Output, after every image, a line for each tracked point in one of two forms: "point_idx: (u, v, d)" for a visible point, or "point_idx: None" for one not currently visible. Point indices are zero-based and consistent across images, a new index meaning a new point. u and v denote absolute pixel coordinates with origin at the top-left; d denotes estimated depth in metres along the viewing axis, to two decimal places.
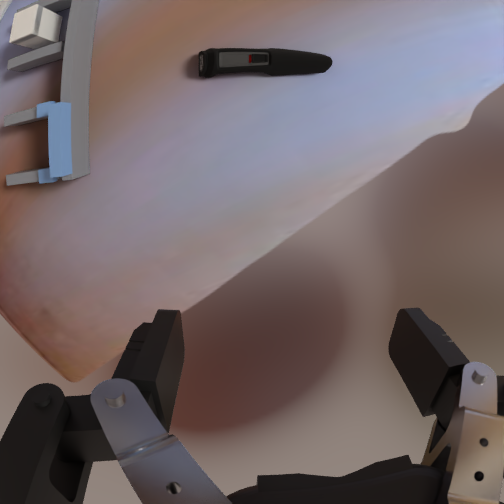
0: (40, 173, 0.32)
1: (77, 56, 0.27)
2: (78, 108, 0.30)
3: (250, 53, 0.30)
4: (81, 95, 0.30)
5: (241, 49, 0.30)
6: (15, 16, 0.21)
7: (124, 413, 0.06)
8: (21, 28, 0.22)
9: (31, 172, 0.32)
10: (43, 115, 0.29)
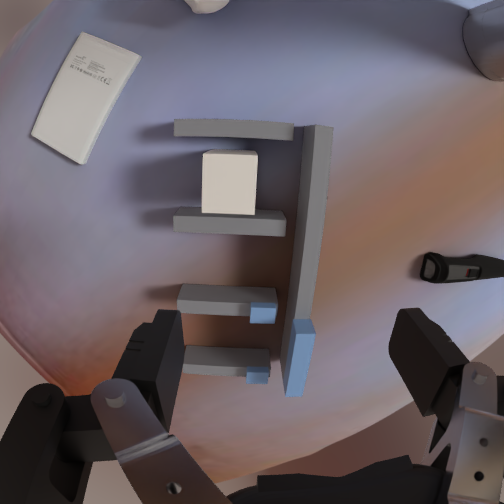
0: (250, 375, 0.33)
1: None
2: None
3: (468, 267, 0.31)
4: None
5: (463, 262, 0.31)
6: (206, 161, 0.22)
7: (125, 413, 0.06)
8: (228, 195, 0.23)
9: (228, 367, 0.34)
10: (262, 322, 0.30)
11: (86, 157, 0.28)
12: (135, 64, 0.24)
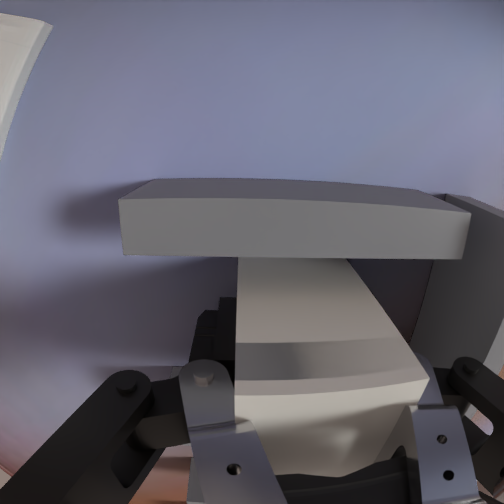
0: None
1: None
2: None
3: None
4: None
5: None
6: (248, 414, 0.05)
7: (209, 392, 0.06)
8: (315, 468, 0.06)
9: None
10: None
11: None
12: (36, 44, 0.08)
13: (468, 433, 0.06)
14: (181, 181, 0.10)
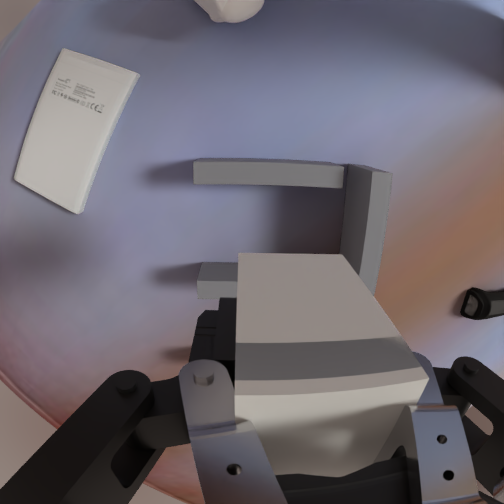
0: None
1: None
2: None
3: None
4: None
5: (503, 297, 0.27)
6: (248, 414, 0.05)
7: (209, 393, 0.06)
8: (315, 468, 0.06)
9: None
10: None
11: (82, 204, 0.23)
12: (132, 85, 0.20)
13: (468, 433, 0.06)
14: (214, 158, 0.22)
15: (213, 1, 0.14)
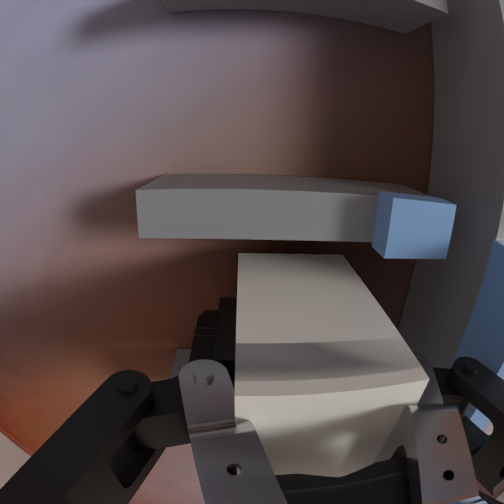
0: None
1: None
2: None
3: None
4: None
5: None
6: (249, 414, 0.05)
7: (208, 393, 0.06)
8: (315, 469, 0.06)
9: None
10: (417, 254, 0.09)
11: None
12: None
13: (468, 433, 0.06)
14: None
15: None
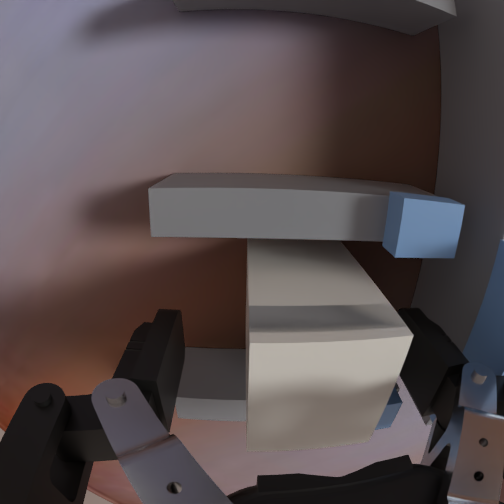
0: None
1: None
2: None
3: None
4: None
5: None
6: (261, 362, 0.07)
7: (125, 413, 0.06)
8: (317, 424, 0.08)
9: None
10: (426, 253, 0.09)
11: None
12: None
13: None
14: None
15: None
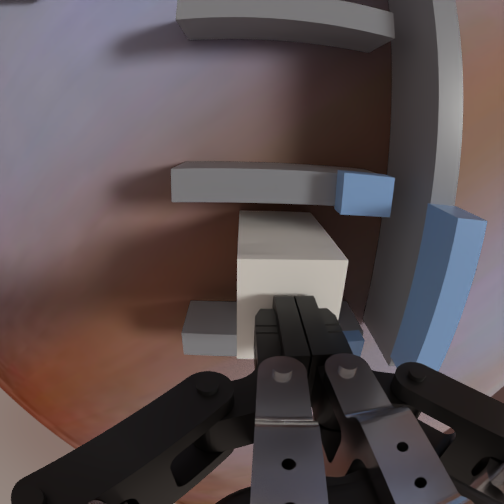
0: None
1: None
2: None
3: None
4: None
5: None
6: (244, 273, 0.11)
7: (283, 389, 0.07)
8: None
9: None
10: (366, 212, 0.13)
11: None
12: None
13: None
14: None
15: None
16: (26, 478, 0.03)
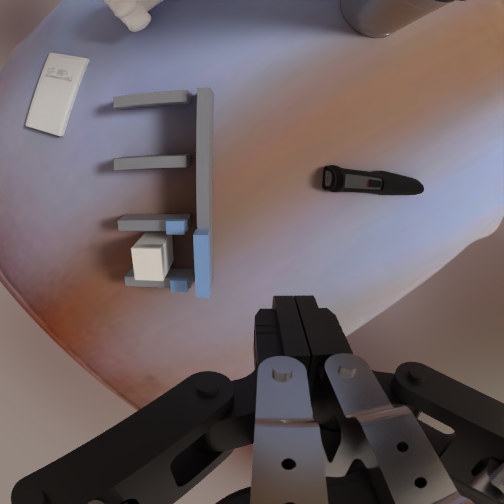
0: (172, 283, 0.43)
1: (209, 179, 0.38)
2: (210, 228, 0.42)
3: (369, 178, 0.40)
4: (210, 214, 0.42)
5: (362, 173, 0.40)
6: (133, 252, 0.38)
7: (283, 389, 0.07)
8: (147, 270, 0.39)
9: None
10: (175, 233, 0.40)
11: (63, 131, 0.38)
12: (86, 64, 0.34)
13: None
14: None
15: (124, 22, 0.29)
16: (27, 478, 0.03)
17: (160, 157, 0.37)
